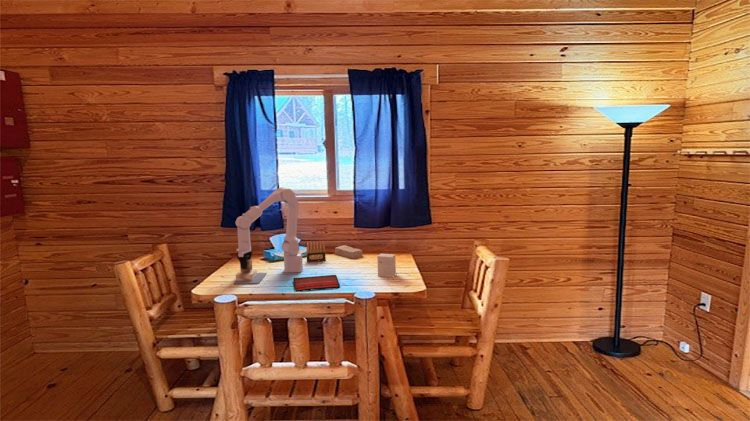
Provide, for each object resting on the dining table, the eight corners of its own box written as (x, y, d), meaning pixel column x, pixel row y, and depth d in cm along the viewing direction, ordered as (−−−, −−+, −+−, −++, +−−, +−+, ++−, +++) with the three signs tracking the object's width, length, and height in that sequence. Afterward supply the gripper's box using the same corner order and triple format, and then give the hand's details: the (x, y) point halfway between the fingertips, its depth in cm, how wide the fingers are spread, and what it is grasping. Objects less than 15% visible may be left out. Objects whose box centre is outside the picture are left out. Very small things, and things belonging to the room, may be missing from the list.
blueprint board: (266, 273, 215) (266, 267, 215) (258, 284, 200) (258, 276, 199) (243, 274, 215) (242, 267, 215) (233, 284, 199) (233, 277, 199)
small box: (395, 274, 212) (395, 254, 211) (392, 277, 207) (392, 257, 205) (381, 273, 215) (380, 253, 213) (377, 276, 210) (377, 255, 208)
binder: (293, 277, 203) (336, 274, 208) (293, 281, 204) (336, 278, 208) (294, 289, 188) (340, 285, 193) (294, 294, 188) (340, 290, 193)
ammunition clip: (325, 259, 241) (324, 239, 239) (325, 260, 239) (325, 240, 237) (306, 261, 238) (305, 240, 236) (307, 262, 236) (306, 241, 235)
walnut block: (252, 268, 209) (251, 259, 208) (249, 271, 205) (249, 261, 204) (243, 269, 209) (242, 259, 208) (240, 271, 204) (240, 261, 204)
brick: (363, 256, 248) (363, 249, 247) (353, 259, 242) (352, 251, 241) (344, 252, 259) (344, 244, 259) (334, 254, 253) (334, 247, 253)
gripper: (240, 237, 211) (242, 263, 214) (231, 244, 197) (233, 271, 199) (254, 237, 212) (255, 263, 214) (246, 243, 197) (248, 271, 199)
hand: (245, 267), depth 207 cm, fingers closed on walnut block, 4 cm apart
